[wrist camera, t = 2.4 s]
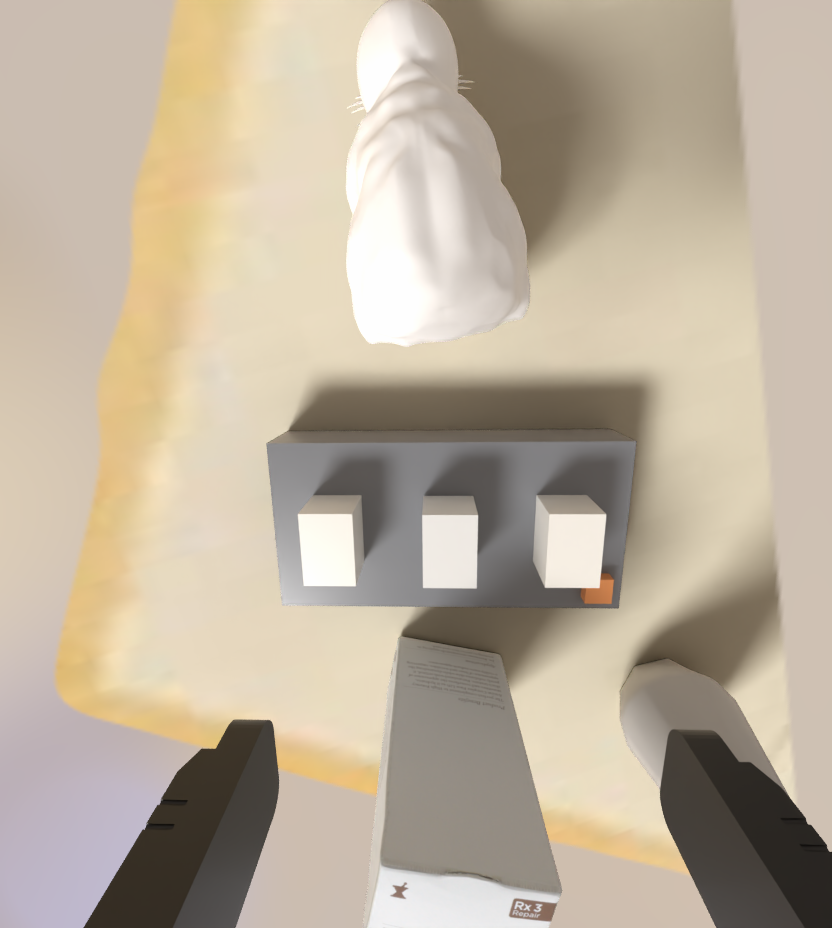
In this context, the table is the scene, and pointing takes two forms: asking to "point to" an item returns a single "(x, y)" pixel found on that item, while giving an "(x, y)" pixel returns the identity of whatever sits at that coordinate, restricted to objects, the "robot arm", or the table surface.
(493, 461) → the panel
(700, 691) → the salt shaker
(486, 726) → the skincare box
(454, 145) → the whiskered white figurine
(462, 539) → the block
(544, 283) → the table surface
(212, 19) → the table surface
